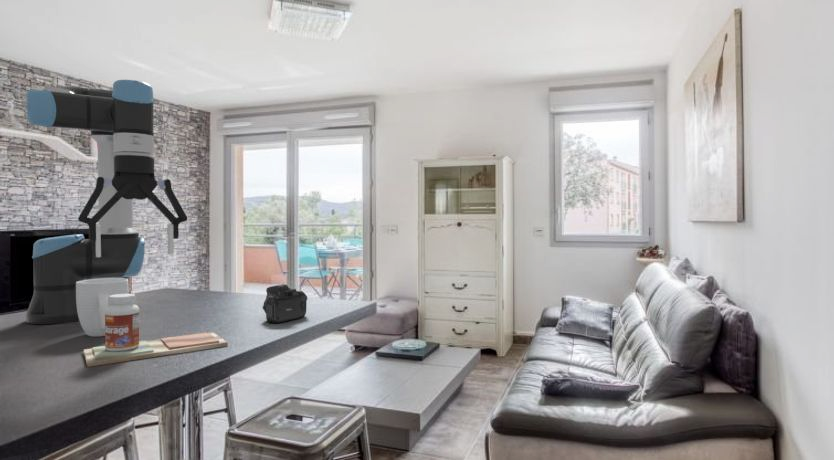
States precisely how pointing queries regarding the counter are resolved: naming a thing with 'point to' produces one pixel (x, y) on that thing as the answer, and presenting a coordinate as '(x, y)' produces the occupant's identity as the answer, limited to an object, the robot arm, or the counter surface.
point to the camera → (284, 303)
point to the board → (155, 348)
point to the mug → (97, 302)
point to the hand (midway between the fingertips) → (135, 255)
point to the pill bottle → (122, 323)
